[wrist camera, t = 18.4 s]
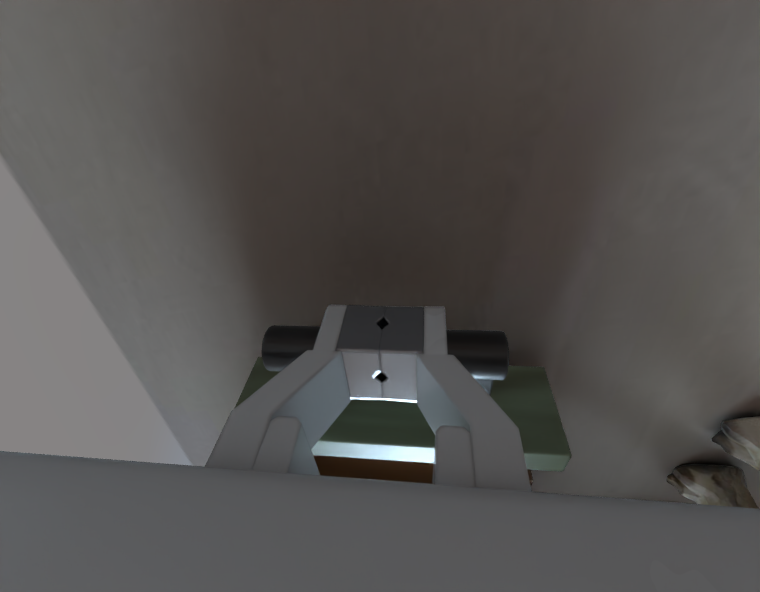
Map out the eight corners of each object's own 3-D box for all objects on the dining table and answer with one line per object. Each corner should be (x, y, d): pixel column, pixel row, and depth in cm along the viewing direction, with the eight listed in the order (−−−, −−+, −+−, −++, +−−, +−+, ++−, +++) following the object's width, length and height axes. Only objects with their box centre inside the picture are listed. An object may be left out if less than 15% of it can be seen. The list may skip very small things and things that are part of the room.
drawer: (222, 271, 13) (166, 348, 11) (576, 274, 12) (623, 364, 9) (314, 492, 26) (300, 556, 23) (495, 507, 24) (505, 577, 21)
